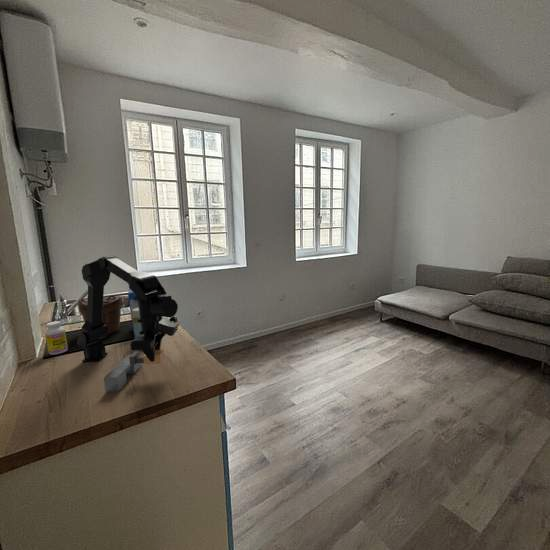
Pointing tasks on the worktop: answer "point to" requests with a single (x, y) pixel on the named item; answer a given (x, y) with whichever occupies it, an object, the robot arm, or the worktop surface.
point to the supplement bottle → (56, 338)
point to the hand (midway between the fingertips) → (155, 358)
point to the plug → (137, 358)
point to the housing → (120, 375)
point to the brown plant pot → (106, 311)
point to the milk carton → (132, 303)
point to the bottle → (136, 322)
